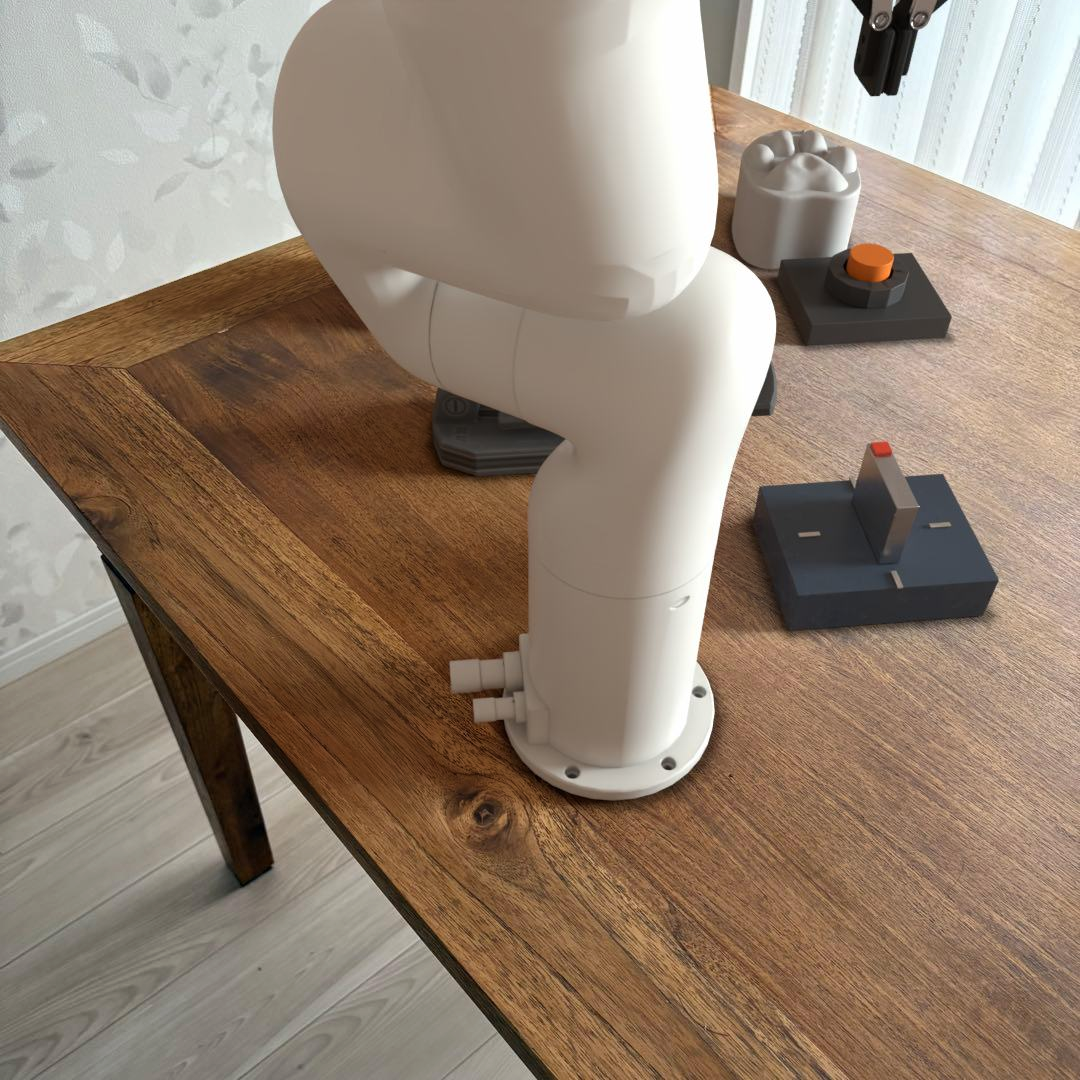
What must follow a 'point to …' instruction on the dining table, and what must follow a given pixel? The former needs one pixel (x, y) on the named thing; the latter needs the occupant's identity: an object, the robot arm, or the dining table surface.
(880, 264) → the button
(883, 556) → the gray slab
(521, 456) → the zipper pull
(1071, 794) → the dining table surface
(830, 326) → the box
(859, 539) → the lever switch base
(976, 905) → the dining table surface
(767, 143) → the lumpy-topped squat cylinder
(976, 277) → the dining table surface
